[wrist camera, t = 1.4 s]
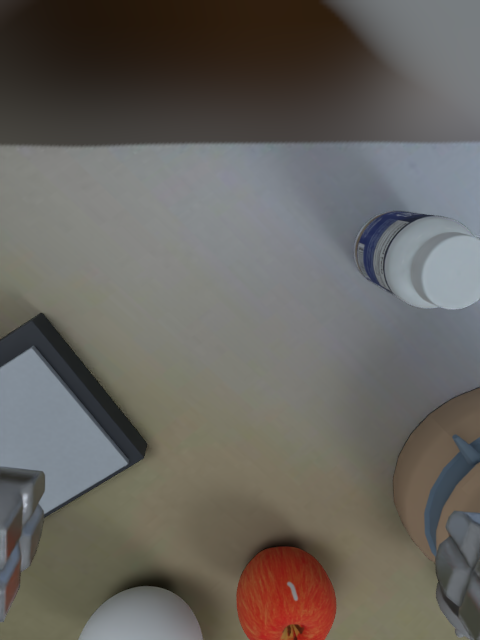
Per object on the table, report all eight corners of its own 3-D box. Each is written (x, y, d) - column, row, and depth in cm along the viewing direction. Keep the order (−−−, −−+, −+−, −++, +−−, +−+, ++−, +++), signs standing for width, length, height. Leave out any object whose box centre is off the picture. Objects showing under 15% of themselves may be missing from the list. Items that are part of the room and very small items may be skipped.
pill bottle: (438, 232, 33) (530, 251, 23) (397, 296, 34) (469, 339, 25) (377, 195, 32) (448, 200, 22) (337, 262, 33) (388, 294, 24)
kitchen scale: (-99, 403, 34) (-122, 420, 31) (41, 312, 33) (28, 322, 30) (17, 522, 37) (4, 545, 35) (147, 443, 36) (143, 462, 34)
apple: (236, 527, 39) (243, 611, 31) (328, 527, 40) (356, 609, 32) (231, 600, 41) (237, 694, 34) (318, 598, 42) (343, 691, 34)
